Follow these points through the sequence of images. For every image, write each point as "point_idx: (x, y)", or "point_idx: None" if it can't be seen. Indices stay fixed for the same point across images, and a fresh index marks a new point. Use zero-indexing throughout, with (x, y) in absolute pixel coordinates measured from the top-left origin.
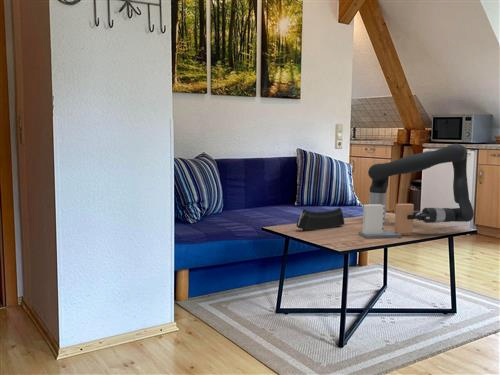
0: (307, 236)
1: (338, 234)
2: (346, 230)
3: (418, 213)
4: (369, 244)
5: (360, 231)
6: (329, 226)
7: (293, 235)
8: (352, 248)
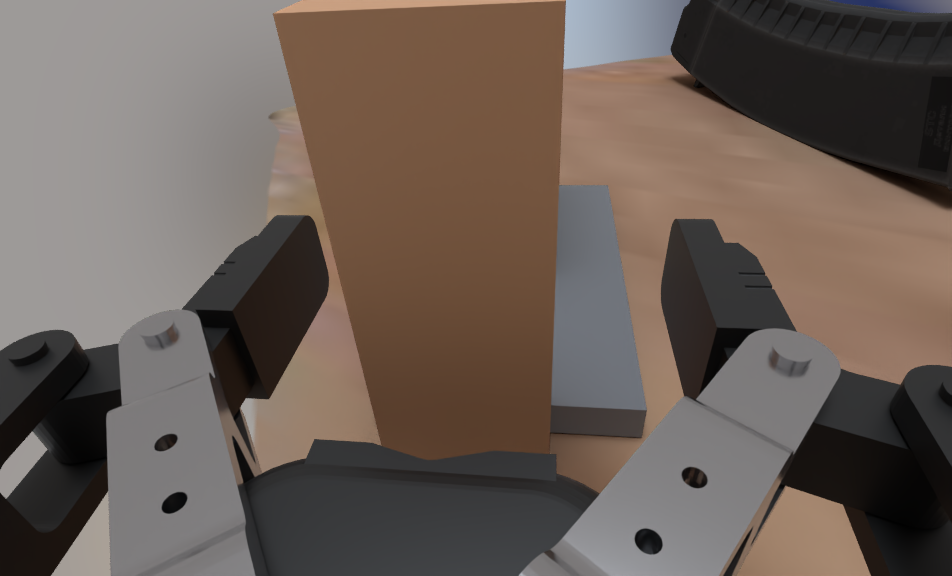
0: (565, 84)
1: (606, 146)
2: (759, 191)
3: (161, 389)
4: (304, 182)
5: (601, 191)
6: (814, 132)
7: (591, 67)
8: (281, 130)
